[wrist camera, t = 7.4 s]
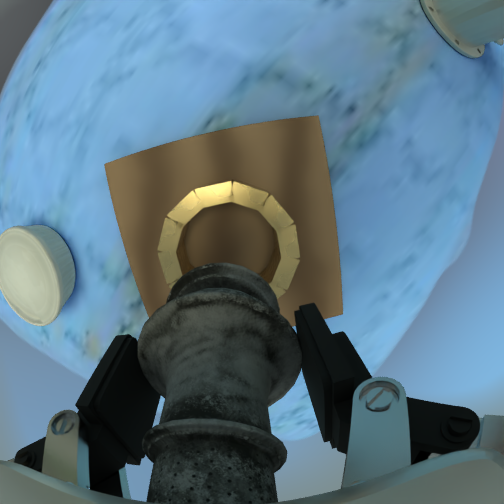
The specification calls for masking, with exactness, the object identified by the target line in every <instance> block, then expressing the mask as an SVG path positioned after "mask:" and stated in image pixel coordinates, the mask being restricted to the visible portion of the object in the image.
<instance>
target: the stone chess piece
mask: <svg viewBox="0 0 504 504" xmlns="http://www.w3.org/2000/svg"><path fill="white" fill-rule="evenodd" d="M138 360H139V363H140V366H141V369H142V372H143V374H144V375H145V377H146V378H147V380H148V381H149V383H150V384H151V386H152V387H153V388H154V389H155V390H156V391H157V392H158V393H159V394H160V395H161V396H163V397H164V398H165V402H164V406H163V410H162V414H161V418H160V422H159V425H156V426H154V427H153V428H151V429H150V430H148V431H147V432H146V434H145V436H144V437H143V439H142V447H143V451H144V452H145V454H146V456H147V457H148V458H149V459H150V460H151V461H152V462H153V463H154V464H153V469H152V475H151V479H150V485H149V490H148V496H147V502H150V503H157V504H268V503H276V502H278V498H277V491H276V485H275V477H274V473H275V472H276V471H278V470H279V469H280V468H281V467H282V466H283V464H284V463H285V462H286V458H287V450H286V448H285V446H284V444H283V442H282V441H280V440H279V439H278V438H277V437H275V436H274V435H273V434H272V433H271V426H270V419H269V413H268V407H269V406H271V405H272V404H274V403H275V402H277V401H278V400H280V399H281V398H282V397H284V395H285V394H286V393H287V392H288V391H289V390H290V389H291V388H292V386H293V385H294V384H295V382H296V380H297V378H298V375H299V373H300V371H301V366H302V350H301V345H300V341H299V337H298V335H297V334H296V332H295V331H294V329H293V328H292V326H291V325H290V323H289V322H288V320H287V319H286V318H285V317H283V316H282V315H281V314H280V308H279V304H278V301H277V297H276V294H275V293H274V291H273V290H272V288H271V287H270V285H269V284H268V283H267V282H266V281H265V280H264V279H263V278H262V277H261V276H259V275H258V274H257V273H255V272H253V271H251V270H249V269H247V268H245V267H243V266H240V265H235V264H230V263H209V264H206V265H203V266H199V267H196V268H194V269H192V270H190V271H189V272H187V273H186V274H184V275H182V276H181V277H180V279H179V280H178V281H177V282H176V283H175V284H174V285H173V287H172V289H171V291H170V293H169V296H168V298H167V301H166V304H165V305H163V306H161V307H160V308H158V309H157V310H156V311H155V312H154V313H153V314H152V315H151V317H150V318H149V319H148V320H147V321H146V322H145V324H144V326H143V328H142V331H141V334H140V336H139V339H138Z"/></svg>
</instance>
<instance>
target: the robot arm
mask: <svg viewBox="0 0 504 504" xmlns="http://www.w3.org/2000/svg"><path fill="white" fill-rule="evenodd" d="M420 1H421V5H422V7H423V9H424V12H425V13H426V15H427V17H428V19H429V20H430V22H431V23H432V24H433V26H434V27H435V29H436V30H437V31H438V32H439V34H440V35H441V36H442V37H443V38H444V39H445V40H446V41H447V42H448V43H449V44H450V45H451V46H452V47H453V48H454V49H456V50H457V51H458V52H460V53H461V54H463V55H464V56H467V57H469V58H478V57H481V56H482V55H483V54H484V50H485V44H487V43H490V42H495V43H497V44H498V45H503V43H504V40H503V39H504V0H420ZM294 316H295V323H296V330H297V335H298V337H299V341H300V345H301V350H302V366H301V368H302V372H303V376H304V379H305V382H306V386H307V389H308V392H309V395H310V399H311V402H312V405H313V408H314V412H315V415H316V418H317V421H318V425H319V428H320V431H321V434H322V438H323V441H324V442H328V441H330V443H331V446H332V449H333V448H337V450H338V451H339V452H342V453H345V454H346V460H345V467H344V473H343V479H342V485H341V489H339V490H336V491H332V492H328V493H324V494H319V495H314V496H310V497H305V498H300V499H295V500H290V501H283V502H276V503H268V504H504V416H496V415H485V416H484V417H483V418H479V417H478V416H477V415H476V413H475V412H474V411H472V410H470V409H468V408H465V407H460V406H452V405H446V404H440V403H435V402H429V401H424V400H419V399H414V398H409V397H406V393H405V389H404V387H403V386H402V385H401V384H400V382H398V381H396V380H395V379H392V378H388V377H375V378H372V376H371V375H370V373H369V371H368V370H367V368H366V366H365V365H364V363H363V361H362V360H361V358H360V356H359V355H358V353H357V351H356V350H355V348H354V347H353V345H352V343H351V342H350V340H349V338H348V337H347V335H346V334H345V333H344V332H343V331H342V332H338V333H335V334H332V333H331V331H330V329H329V328H328V326H327V324H326V322H325V320H324V319H323V317H322V315H321V313H320V311H319V310H318V308H317V306H316V304H315V303H314V302H313V303H309V304H305V305H300V306H299V310H296V311H294ZM160 396H161V395H160V394H159V393H158V392H157V391H156V390H155V389H154V388H153V387H152V386H151V384H150V383H149V381H148V380H147V378H146V377H145V375H144V374H143V372H142V369H141V366H140V363H139V360H138V341H137V340H136V338H134V337H132V336H131V335H129V334H127V335H118V336H116V337H115V338H114V340H113V341H112V343H111V345H110V346H109V348H108V349H107V351H106V353H105V354H104V356H103V358H102V359H101V361H100V363H99V364H98V366H97V368H96V369H95V371H94V373H93V374H92V376H91V378H90V379H89V381H88V383H87V385H86V387H85V388H84V390H83V392H82V394H81V395H80V397H79V399H78V401H77V403H76V407H77V408H78V409H79V411H78V413H76V412H75V411H72V410H63V411H60V412H59V413H57V414H55V415H54V416H53V417H52V419H51V420H50V422H49V425H48V429H47V434H46V437H44V438H42V439H40V440H38V441H36V442H34V443H32V444H30V445H28V446H26V447H24V448H22V449H21V450H19V451H18V452H17V454H16V456H15V459H14V458H13V459H11V460H8V461H3V460H0V504H157V503H150V502H142V501H137V500H131V496H130V492H129V486H128V481H127V475H126V469H125V464H126V463H127V464H132V465H140V463H141V458H144V457H145V452H144V451H143V447H142V439H143V437H144V436H145V434H146V432H147V431H148V430H150V429H151V428H152V426H153V422H154V419H155V415H156V411H157V407H158V404H159V400H160ZM89 488H90V489H89Z"/></svg>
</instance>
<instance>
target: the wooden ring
mask: <svg viewBox="0 0 504 504" xmlns="http://www.w3.org/2000/svg"><path fill="white" fill-rule="evenodd" d="M227 202H234V203H237V204H240V205H243V206H246V207H249V208H252V209H255V210H258V211H259V212H260V213H261V214H262V215H263V216H264V218H265V219H266V220H267V221H268V222H269V223H270V224H271V226H272V230H273V236H274V241H275V248H274V251H273V253H272V256H271V258H270V261H269V264H268V266H267V268H265V269H264V270H263V271H262V272H261V273H259V274H258V275H259V276H261V277H262V278H263V279H264V280H265V281H266V282H267V283H268V284H269V285H270V287H271V288H272V290H273V291H274V293H275V294H276V297H277V299H278V298H279V297H280V296H282V295H283V294H284V293H285V292H286V291H285V289H286V290H288V288H289V285H290V283H291V281H292V278H293V276H294V273H295V271H296V268H297V266H298V264H299V261H300V260H299V258H300V252H299V245H298V239H297V232H296V226H295V224H294V223H293V222H294V221H293V220H292V219H291V217H290V216H289V215H288V214H287V213H286V211H285V210H284V209H283V208H282V207H281V206H280V204H279V203H278V202H277V201H276V200H275V198H274V197H273V196H272V195H271V194H269V193H268V192H267V191H265V190H263V189H260V188H257V187H254V186H251V185H248V184H245V183H242V182H239V181H236V180H234V183H233V184H232V180H228V181H223V182H219V183H214V184H210V185H205V186H201V187H199V188H196V189H195V190H192V191H191V192H190V193H189V194H188V195H187V196H186V197H185V198H184V199H183V200H182V201H181V202H180V203H179V204H178V205H177V206H176V207H175V208H174V209H173V210H172V211H171V212H170V213H169V214H168V215H167V217H166V218H165V221H164V225H163V229H162V233H161V237H160V241H159V245H158V250H159V252H158V256H159V260H160V263H161V266H162V270H163V273H164V276H165V279H166V282H167V284H168V283H170V284H169V287H170V288H171V289H172V287H173V285H174V284H175V283H176V282H177V281H178V280H179V279H180V277H181V276H182V275H184V274H186V273H187V272H189V271H190V270H192V269H194V267H193V266H192V265H191V264H190V262H189V258H188V255H187V251H186V247H185V243H184V239H185V235H186V232H187V228H188V225H189V221H190V219H191V218H193V217H194V216H195V215H196V214H197V213H198V212H199V211H200V210H201V209H202V208H204V207H209V206H213V205H218V204H223V203H227Z"/></svg>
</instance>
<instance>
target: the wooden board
mask: <svg viewBox="0 0 504 504" xmlns="http://www.w3.org/2000/svg"><path fill="white" fill-rule="evenodd" d="M104 166H105V171H106V176H107V181H108V185H109V190H110V194H111V199H112V203H113V207H114V211H115V215H116V219H117V222H118V226H119V230H120V233H121V237H122V240H123V244H124V247H125V251H126V254H127V257H128V260H129V263H130V266H131V269H132V272H133V275H134V278H135V281H136V284H137V287H138V290H139V293H140V295H141V298H142V301H143V303H144V306H145V309H146V311H147V314H148V316H149V318H150V317H151V315H152V314H153V313H154V312H155V311H156V310H157V309H158V308H160V307H161V306H163V305H165V304H166V301H167V298H168V296H169V293H170V291H171V288H170V287H169V284H170V283H168V284H167V282H166V279H165V276H164V273H163V270H162V266H161V263H160V260H159V256H158V252H159V250H158V245H159V241H160V237H161V233H162V229H163V225H164V221H165V218H166V217H167V215H168V214H169V213H170V212H171V211H172V210H173V209H174V208H175V207H176V206H177V205H178V204H179V203H180V202H181V201H182V200H183V199H184V198H185V197H186V196H187V195H188V194H189V193H190V192H191V191H192V190H195V189H196V188H199V187H201V186H205V185H210V184H214V183H219V182H223V181H228V180H232V184H233V183H234V180H236V181H239V182H242V183H245V184H248V185H251V186H254V187H257V188H260V189H263V190H265V191H267V192H268V193H269V194H271V195H272V196H273V197H274V198H275V200H276V201H277V202H278V203H279V204H280V206H281V207H282V208H283V209H284V210H285V211H286V213H287V214H288V215H289V216H290V217H291V219H292V220H293V221H294V222H293V223H294V224H295V226H296V232H297V239H298V245H299V252H300V258H299V260H300V261H299V264H298V266H297V268H296V271H295V273H294V276H293V278H292V281H291V283H290V285H289V288H288V290H286V289H285V291H286V292H285V293H284V294H283V295H282V296H280V297H279V298H278V299H277V301H278V304H279V308H280V314H281V315H282V316H283V317H285V318H286V319H287V320H288V322H289V323H290V325H291V326H296V323H295V316H294V311H296V310H299V306H300V305H305V304H309V303H313V302H314V303H315V304H316V306H317V308H318V310H319V311H320V313H321V315H322V317H323V319H326V318H330V317H334V316H338V315H342V314H343V302H342V284H341V270H340V257H339V246H338V236H337V227H336V218H335V210H334V203H333V195H332V188H331V182H330V175H329V169H328V163H327V157H326V152H325V146H324V141H323V136H322V131H321V126H320V121H319V116H308V117H299V118H290V119H283V120H275V121H268V122H262V123H256V124H250V125H244V126H239V127H234V128H229V129H224V130H219V131H214V132H210V133H206V134H201V135H197V136H193V137H189V138H185V139H181V140H178V141H174V142H170V143H167V144H163V145H160V146H157V147H153V148H150V149H147V150H144V151H140V152H137V153H134V154H131V155H128V156H125V157H123V158H120V159H117V160H114V161H111V162H109V163H106V164H104ZM184 243H185V247H186V251H187V255H188V258H189V262H190V264H191V265H192V266H193V267H194V268H196V267H199V266H203V265H206V264H209V263H230V264H235V265H240V266H243V267H245V268H247V269H249V270H251V271H253V272H255V273H257V274H259V273H261V272H262V271H263V270H264V269H265V268H267V266H268V264H269V261H270V258H271V256H272V253H273V251H274V248H275V241H274V236H273V230H272V226H271V224H270V223H269V222H268V221H267V220H266V219H265V218H264V216H263V215H262V214H261V213H260V212H259V211H258V210H255V209H252V208H249V207H246V206H243V205H240V204H237V203H234V202H227V203H223V204H218V205H213V206H209V207H204V208H202V209H201V210H200V211H199V212H198V213H197V214H196V215H195V216H194V217H193V218H191V219H190V221H189V225H188V228H187V232H186V235H185V239H184Z"/></svg>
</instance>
